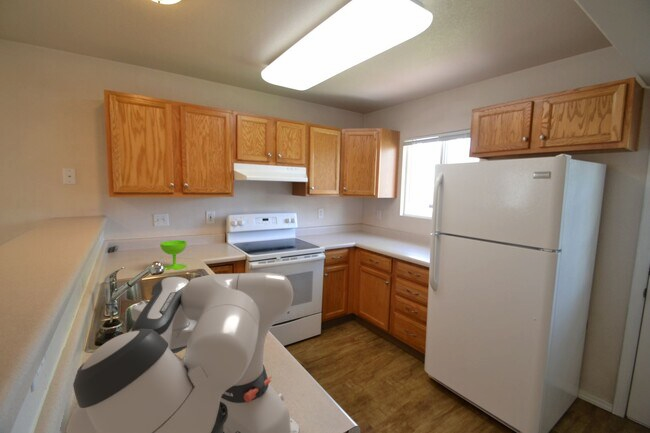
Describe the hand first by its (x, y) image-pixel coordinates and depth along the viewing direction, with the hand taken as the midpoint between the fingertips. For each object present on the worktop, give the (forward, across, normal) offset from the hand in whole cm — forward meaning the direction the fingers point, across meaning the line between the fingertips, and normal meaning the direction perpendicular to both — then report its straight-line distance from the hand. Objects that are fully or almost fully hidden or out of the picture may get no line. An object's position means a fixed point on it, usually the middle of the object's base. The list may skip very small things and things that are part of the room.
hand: (158, 299), depth 94 cm
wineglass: (+98, +62, -23) cm, 118 cm away
